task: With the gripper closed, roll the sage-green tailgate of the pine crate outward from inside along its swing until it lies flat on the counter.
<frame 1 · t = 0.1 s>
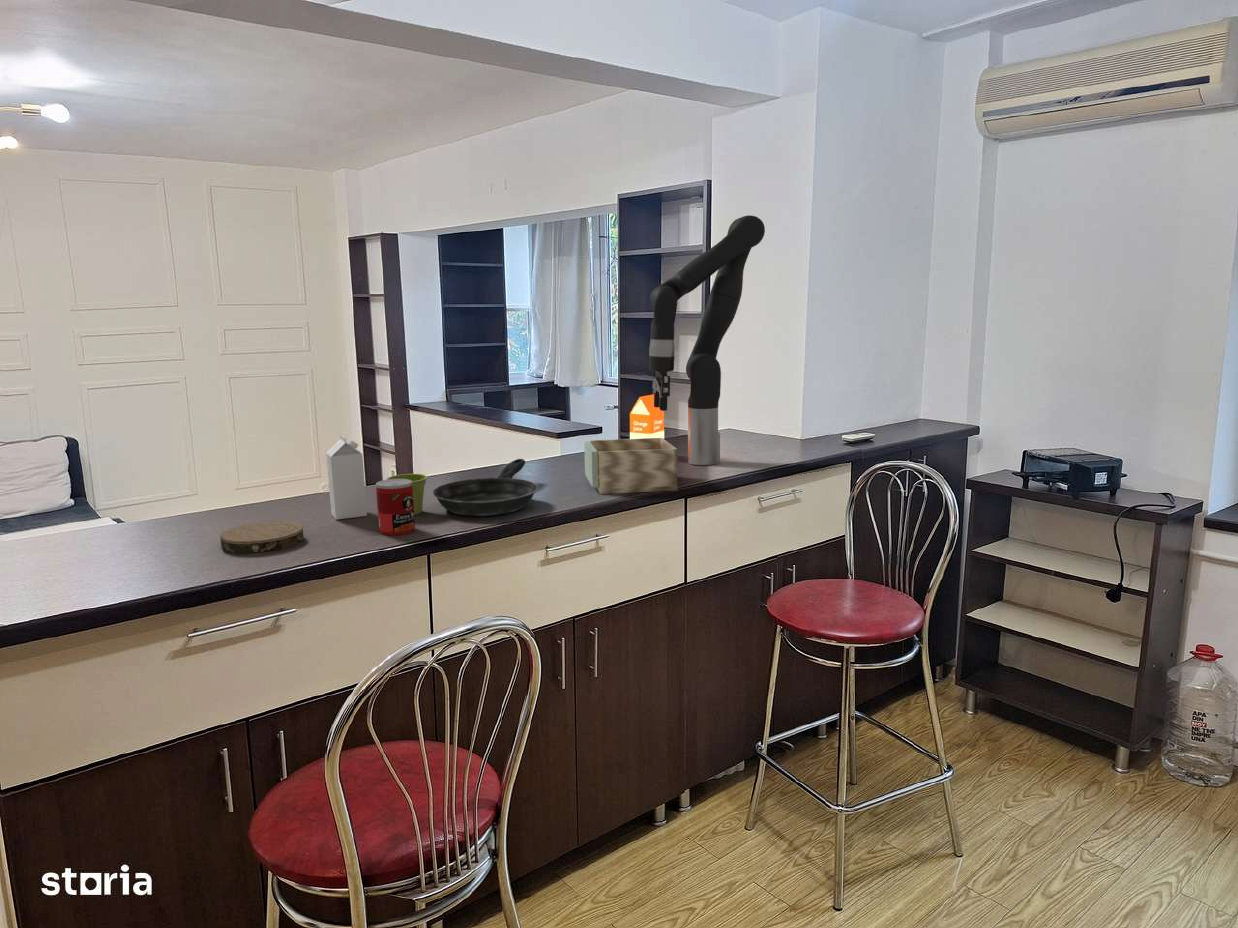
hand: (660, 408, 247), 17 cm above the worktop, tool pointing down, fingers open, 8 cm apart
milk carton: (349, 516, 194), on the worktop
crate: (630, 484, 223), on the worktop
brown flat disc: (263, 545, 172), on the worktop
canned food: (397, 531, 179), on the worktop
orange juice: (647, 458, 263), on the worktop
tailgate: (591, 463, 220), point 6 cm above the worktop, hinge at 0.0°
plant pot: (409, 514, 195), on the worktop
frying pan: (494, 502, 206), on the worktop
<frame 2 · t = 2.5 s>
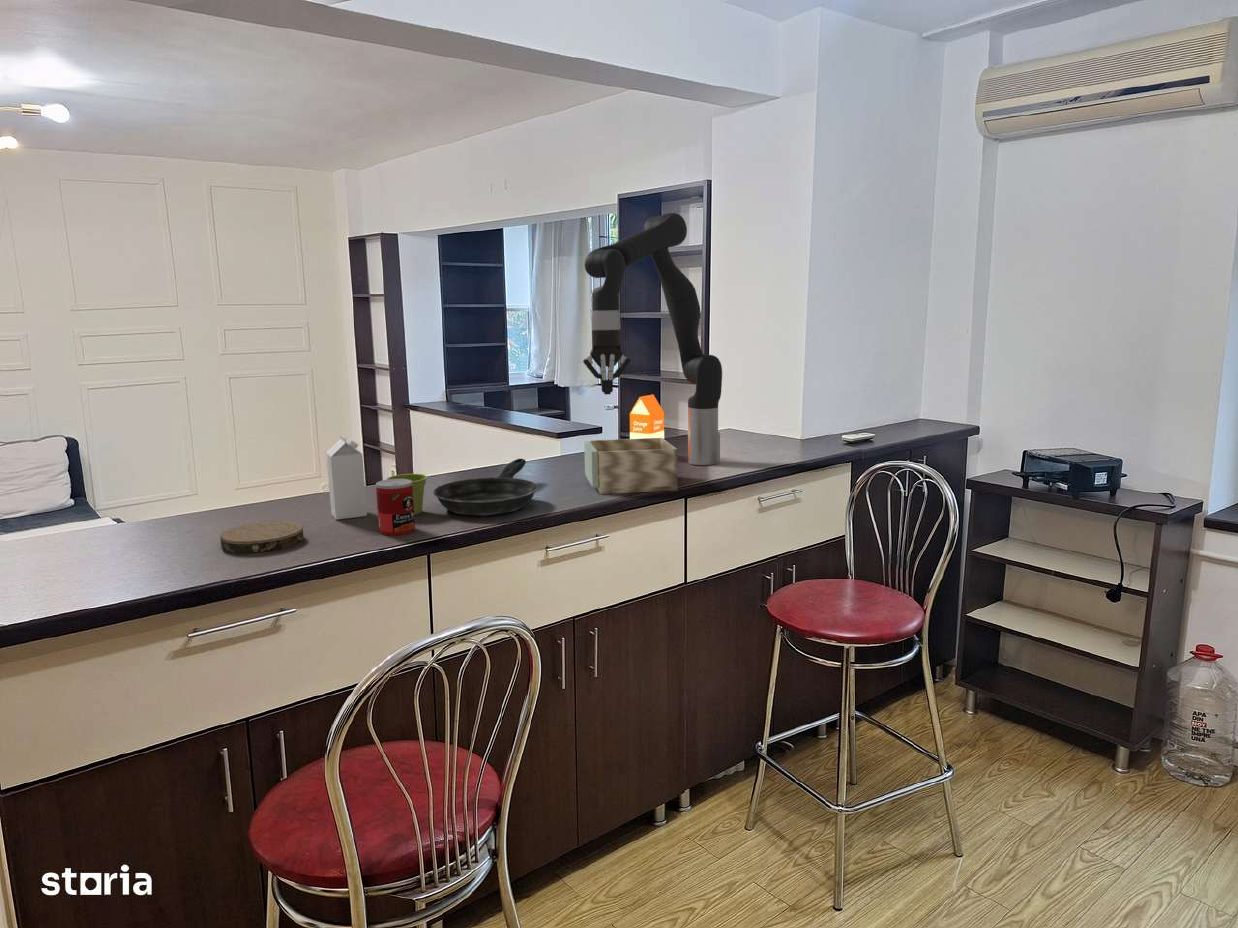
hand: (607, 394, 217), 25 cm above the worktop, tool pointing down, fingers closed
nothing on the worktop moved.
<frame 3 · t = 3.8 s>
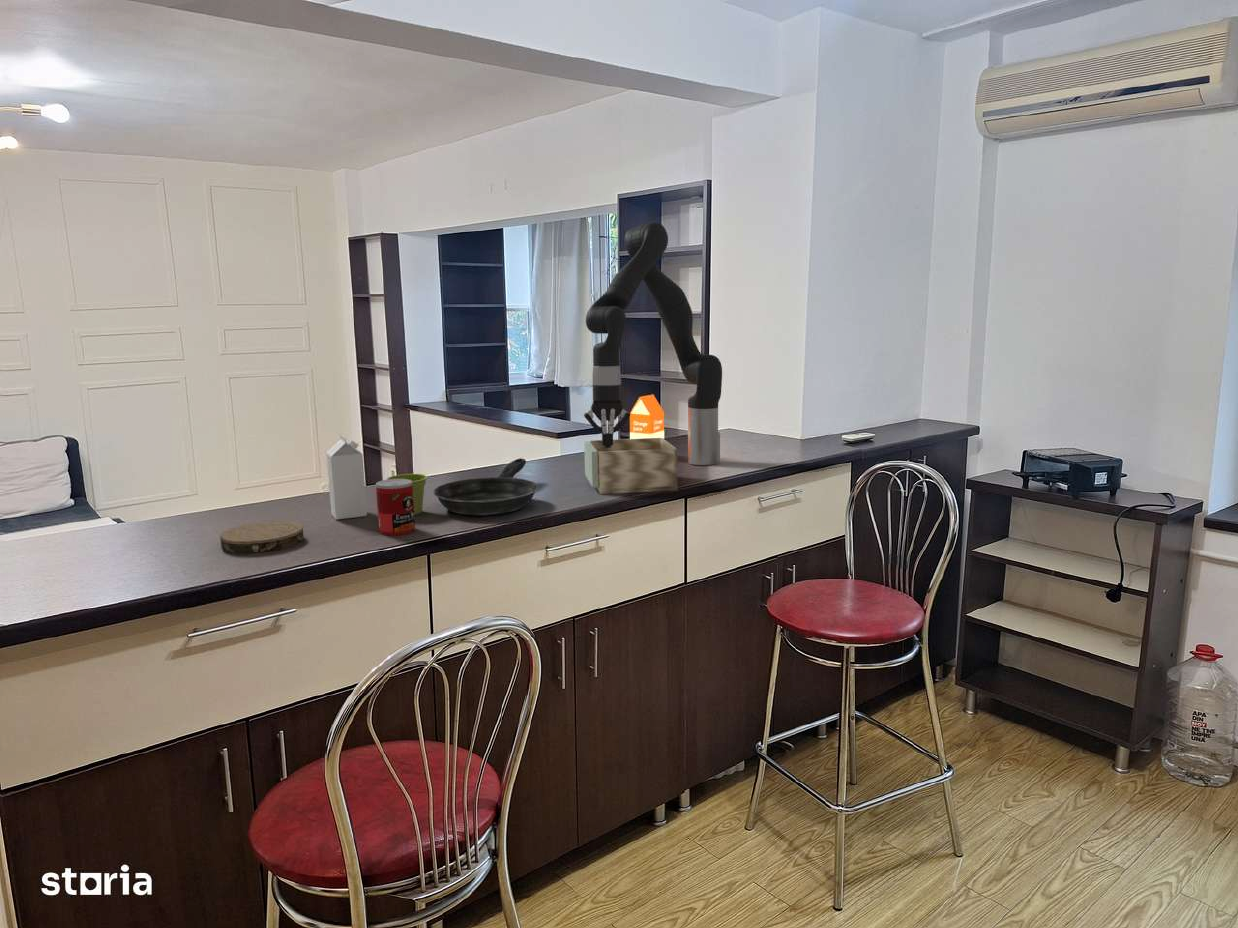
hand: (607, 447, 220), 11 cm above the worktop, tool pointing down, fingers closed
nothing on the worktop moved.
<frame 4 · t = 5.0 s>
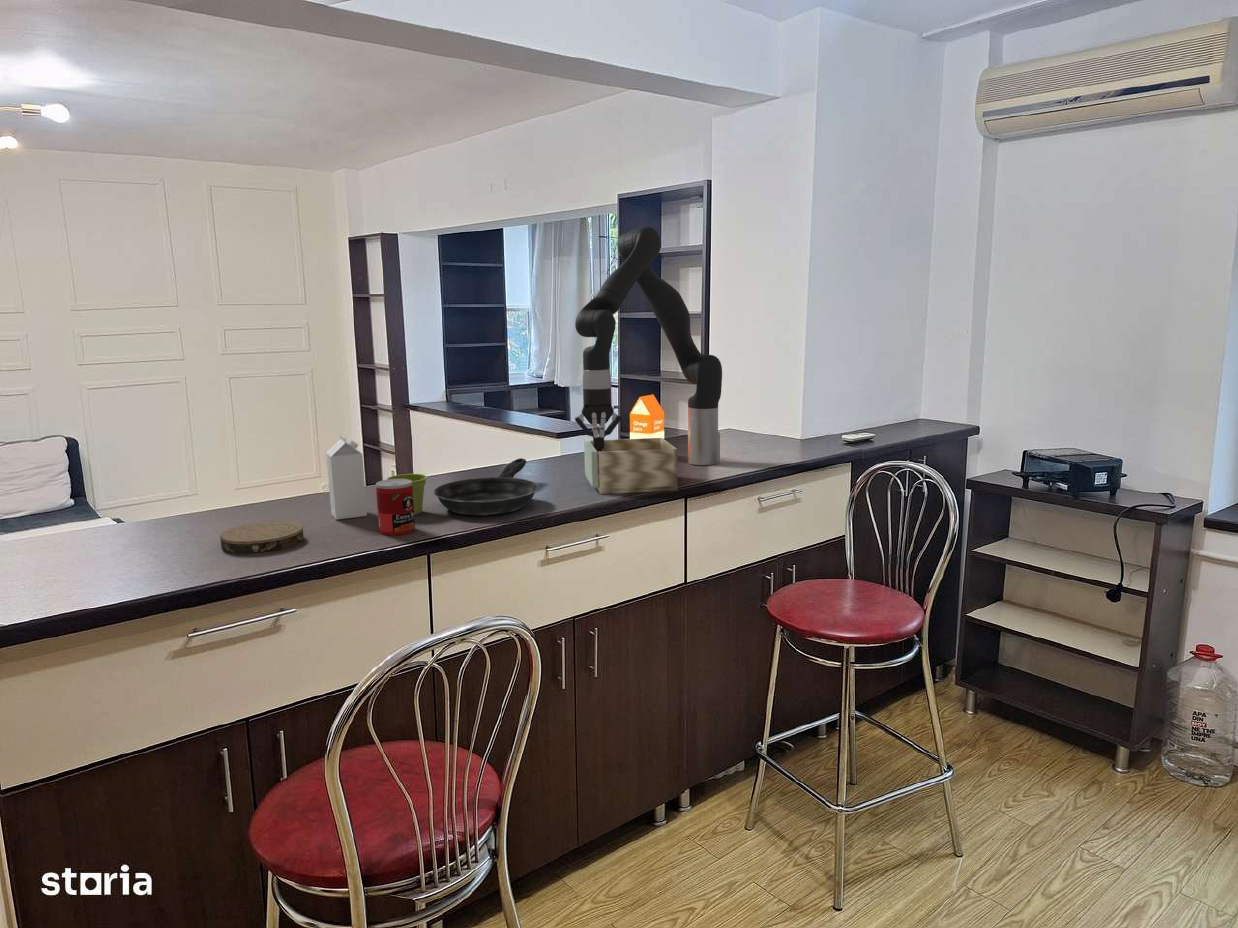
hand: (598, 450, 220), 10 cm above the worktop, tool pointing down, fingers closed
tailgate: (590, 463, 220), point 6 cm above the worktop, hinge at 0.4°, touching gripper
everything else where it was.
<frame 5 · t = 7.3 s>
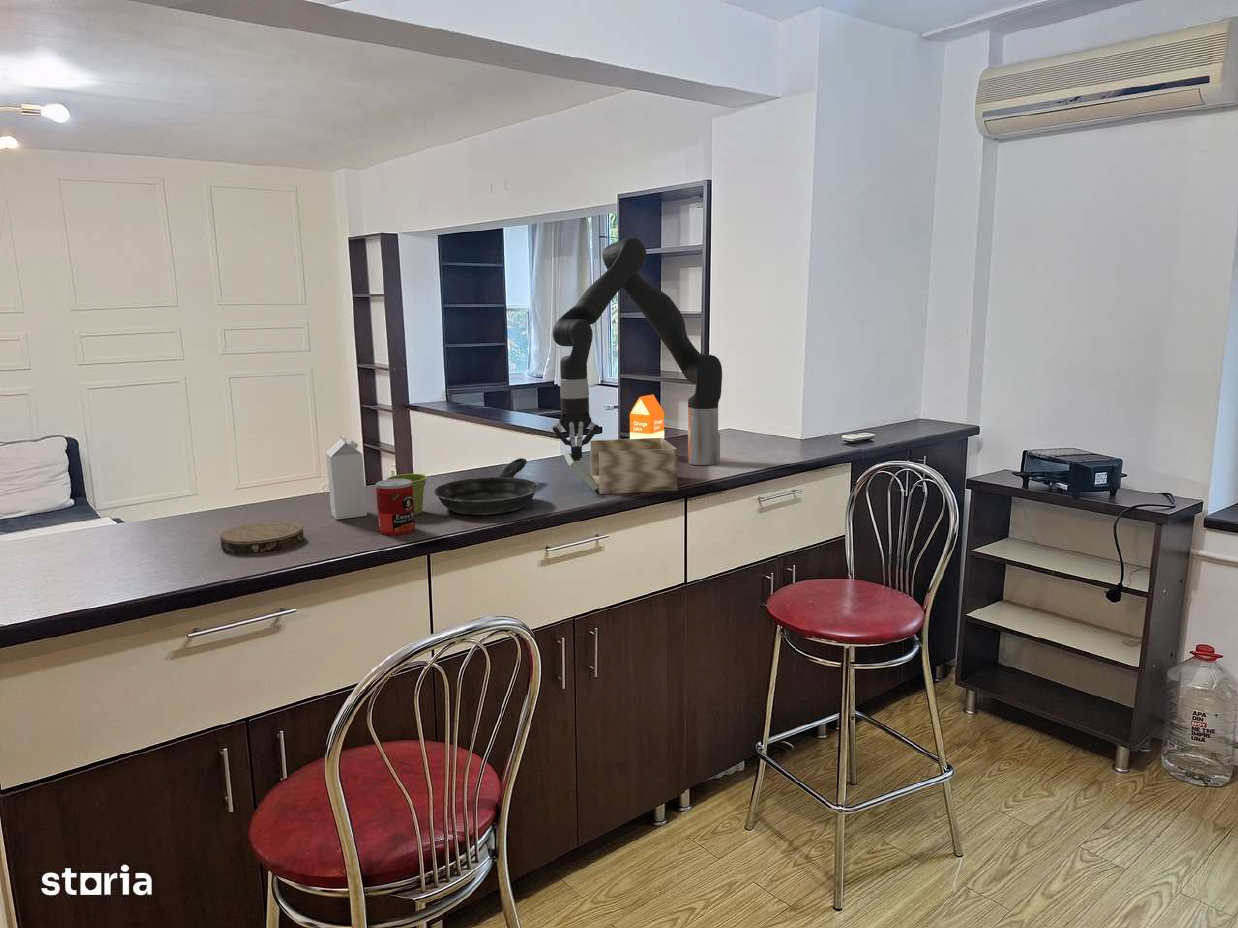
hand: (576, 460, 219), 7 cm above the worktop, tool pointing down, fingers closed
tailgate: (580, 470, 220), point 5 cm above the worktop, hinge at 42.1°, touching gripper
everything else where it was.
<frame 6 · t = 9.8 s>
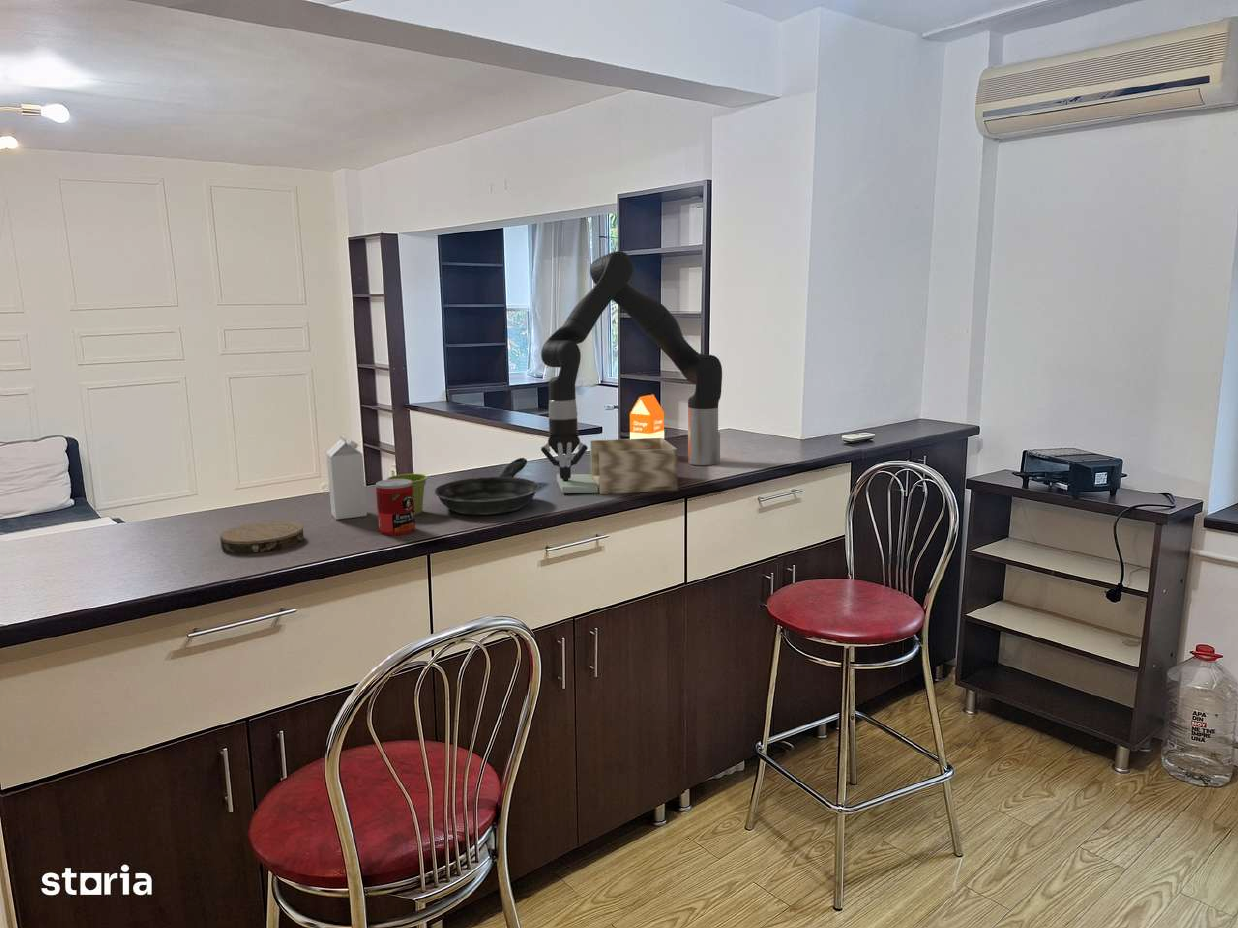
hand: (565, 480, 220), 2 cm above the worktop, tool pointing down, fingers closed
tailgate: (576, 483, 220), point 1 cm above the worktop, hinge at 87.3°
everything else where it was.
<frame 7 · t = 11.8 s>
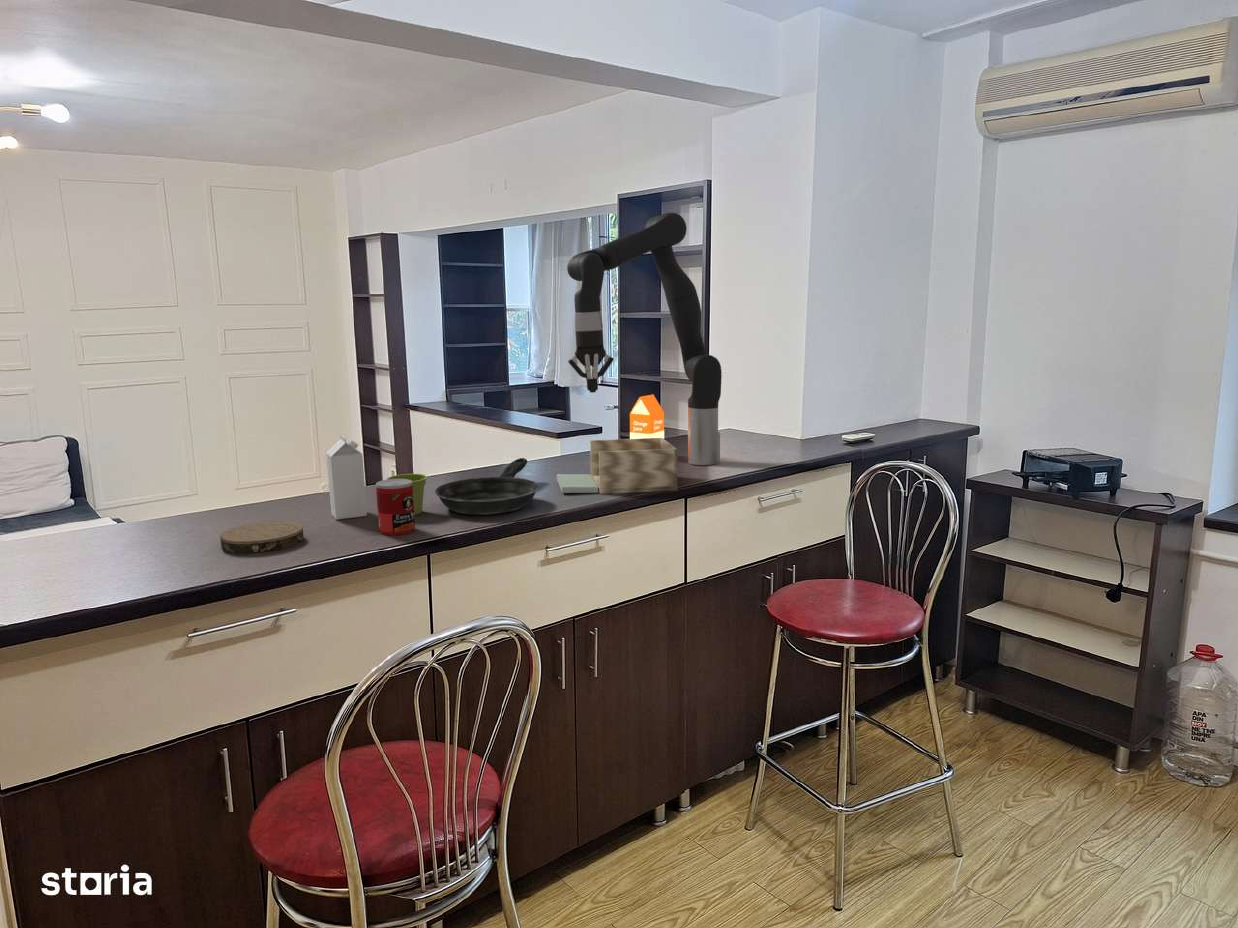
hand: (592, 392, 227), 25 cm above the worktop, tool pointing down, fingers closed
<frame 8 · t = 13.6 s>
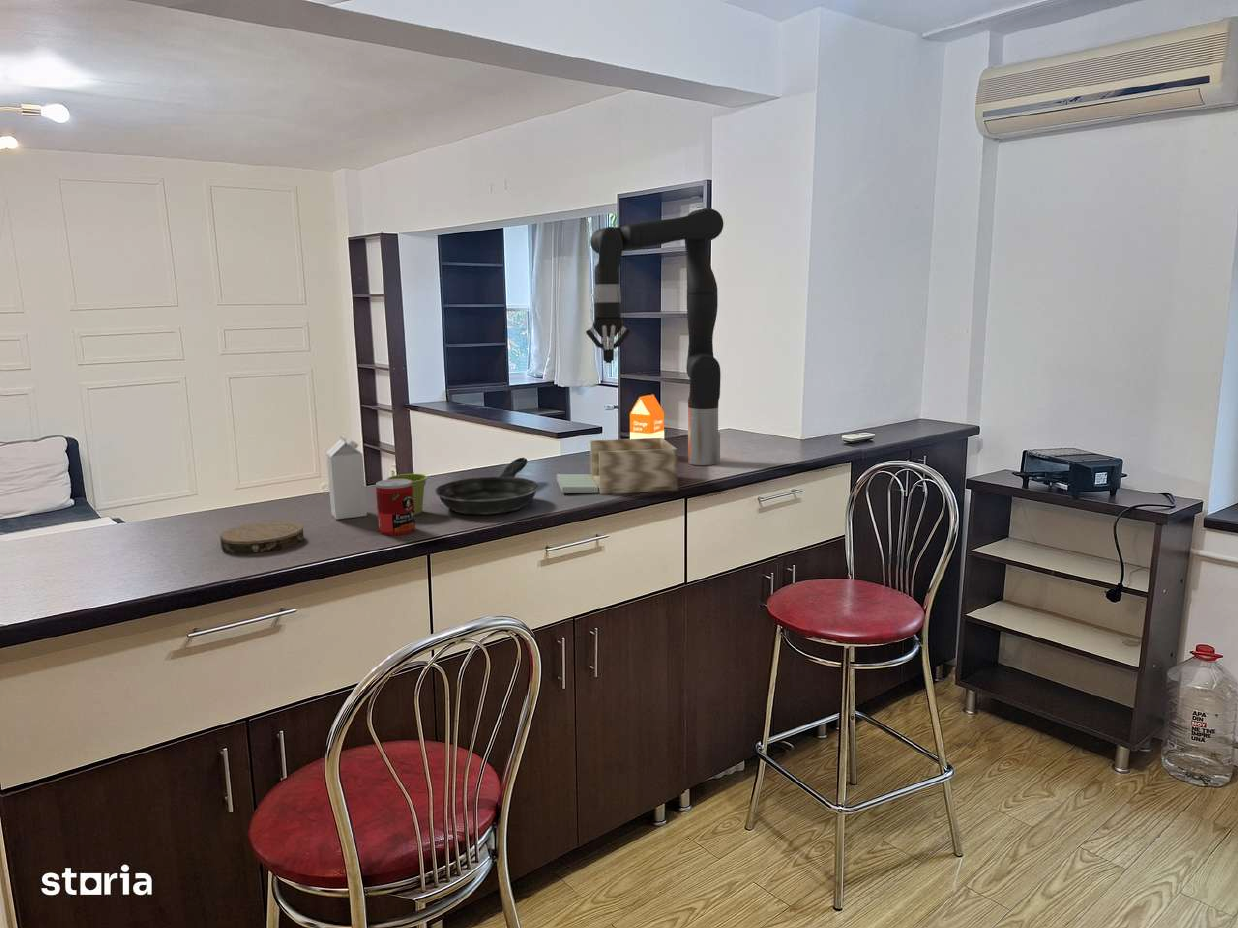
hand: (608, 362, 234), 32 cm above the worktop, tool pointing down, fingers closed
at the end: tailgate at +87° (first picture: +0°) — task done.
